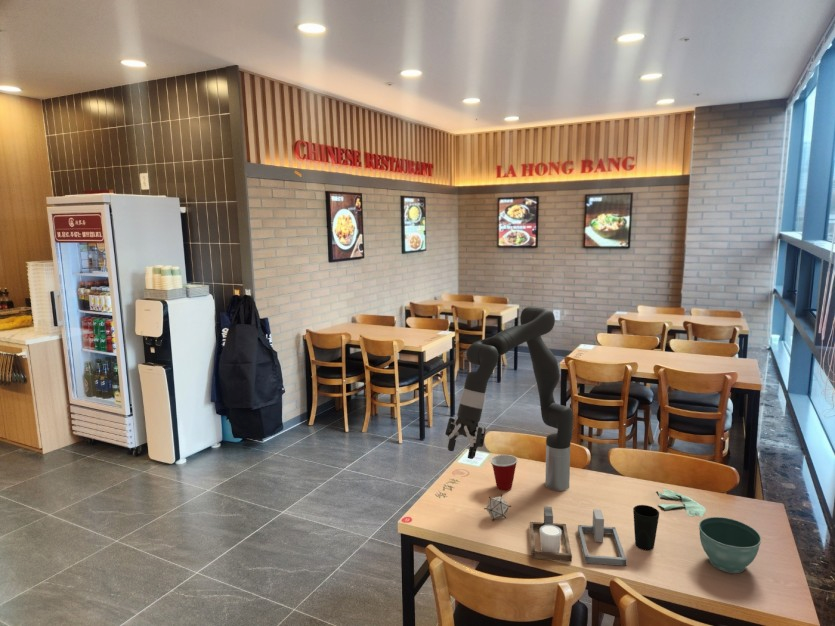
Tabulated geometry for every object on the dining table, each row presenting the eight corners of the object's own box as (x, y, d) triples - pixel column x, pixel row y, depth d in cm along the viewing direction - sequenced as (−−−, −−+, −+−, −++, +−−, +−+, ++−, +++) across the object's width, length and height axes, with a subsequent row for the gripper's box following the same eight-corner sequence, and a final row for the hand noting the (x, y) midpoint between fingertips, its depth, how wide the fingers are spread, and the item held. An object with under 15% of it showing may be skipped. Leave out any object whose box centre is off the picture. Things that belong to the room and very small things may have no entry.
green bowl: (771, 579, 157) (774, 545, 156) (717, 583, 156) (720, 548, 154) (735, 547, 173) (737, 515, 171) (686, 550, 172) (688, 518, 170)
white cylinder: (563, 547, 175) (563, 526, 174) (559, 558, 169) (559, 538, 168) (541, 542, 178) (542, 522, 177) (537, 553, 172) (537, 533, 171)
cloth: (711, 522, 189) (711, 516, 188) (642, 513, 196) (643, 507, 195) (701, 494, 208) (701, 489, 207) (639, 487, 215) (639, 481, 214)
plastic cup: (496, 478, 223) (496, 451, 221) (521, 485, 217) (521, 456, 215) (485, 490, 214) (485, 461, 212) (511, 496, 208) (511, 467, 206)
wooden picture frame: (529, 527, 187) (529, 505, 185) (565, 529, 185) (566, 507, 184) (531, 558, 169) (532, 534, 168) (571, 561, 167) (572, 537, 166)
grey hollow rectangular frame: (577, 530, 184) (578, 508, 183) (614, 532, 182) (615, 510, 181) (585, 562, 167) (585, 538, 165) (626, 565, 165) (627, 541, 163)
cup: (655, 555, 170) (657, 519, 168) (629, 548, 174) (631, 513, 172) (659, 542, 176) (661, 508, 174) (634, 536, 180) (635, 502, 178)
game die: (501, 529, 193) (510, 517, 186) (479, 519, 194) (486, 507, 187) (507, 507, 199) (515, 494, 192) (485, 498, 200) (493, 485, 193)
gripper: (495, 411, 173) (484, 461, 172) (462, 401, 183) (451, 448, 182) (481, 408, 168) (469, 461, 167) (447, 398, 178) (436, 447, 177)
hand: (460, 454), depth 174 cm, fingers open, 8 cm apart
